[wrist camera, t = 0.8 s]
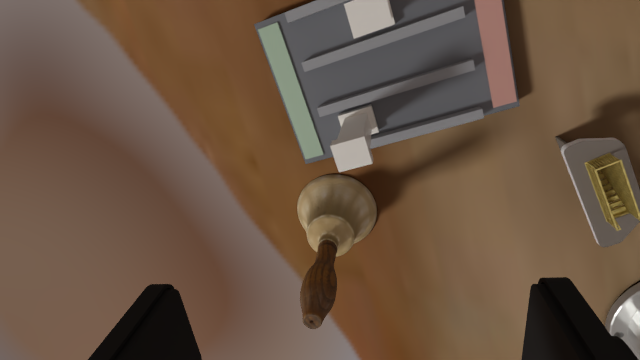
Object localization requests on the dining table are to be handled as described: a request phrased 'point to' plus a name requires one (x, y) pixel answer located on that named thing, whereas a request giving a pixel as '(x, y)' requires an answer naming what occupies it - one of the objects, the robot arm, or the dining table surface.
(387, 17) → the handle
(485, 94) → the panel
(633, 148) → the dining table surface
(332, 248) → the hand bell
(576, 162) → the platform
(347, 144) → the handle
